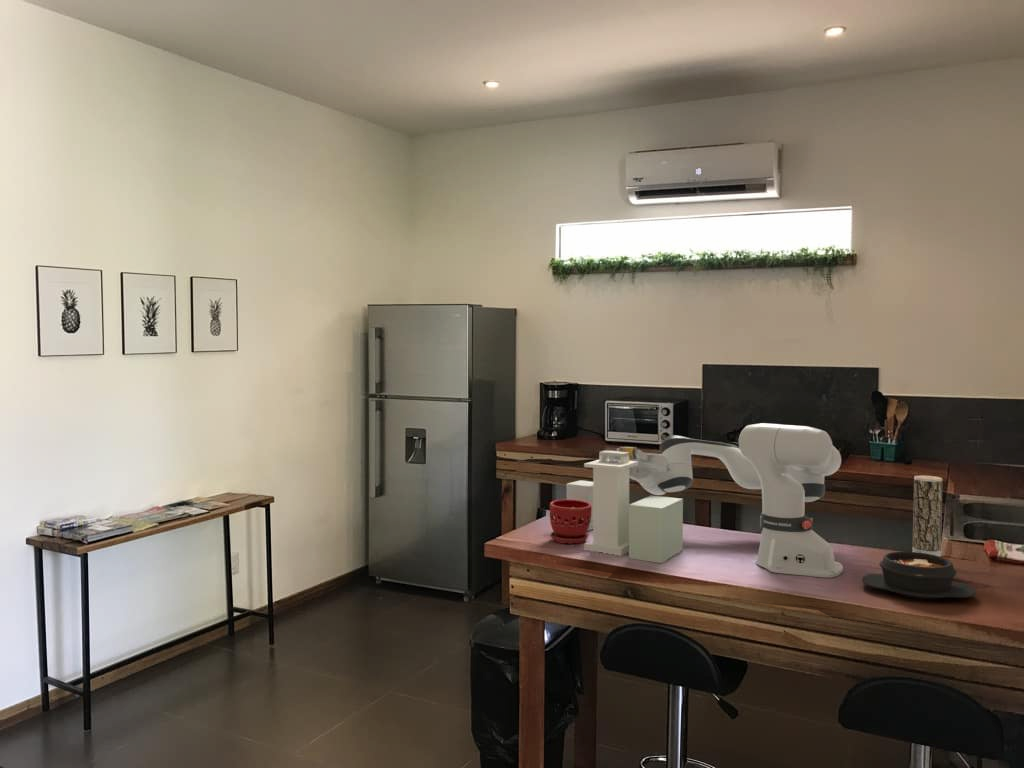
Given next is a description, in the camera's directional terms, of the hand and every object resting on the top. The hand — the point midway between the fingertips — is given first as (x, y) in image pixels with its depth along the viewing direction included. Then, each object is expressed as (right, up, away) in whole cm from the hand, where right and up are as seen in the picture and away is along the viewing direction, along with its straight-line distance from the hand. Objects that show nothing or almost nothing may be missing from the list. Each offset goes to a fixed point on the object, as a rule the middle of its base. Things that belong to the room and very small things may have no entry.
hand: (627, 451), depth 247 cm
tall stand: (-6, -29, -8) cm, 30 cm away
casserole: (+64, -31, -52) cm, 87 cm away
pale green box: (+6, -29, -15) cm, 33 cm away
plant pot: (-18, -28, +1) cm, 33 cm away
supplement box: (-12, -27, +20) cm, 36 cm away
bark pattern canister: (+76, -29, -32) cm, 88 cm away
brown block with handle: (-3, -2, -4) cm, 5 cm away
